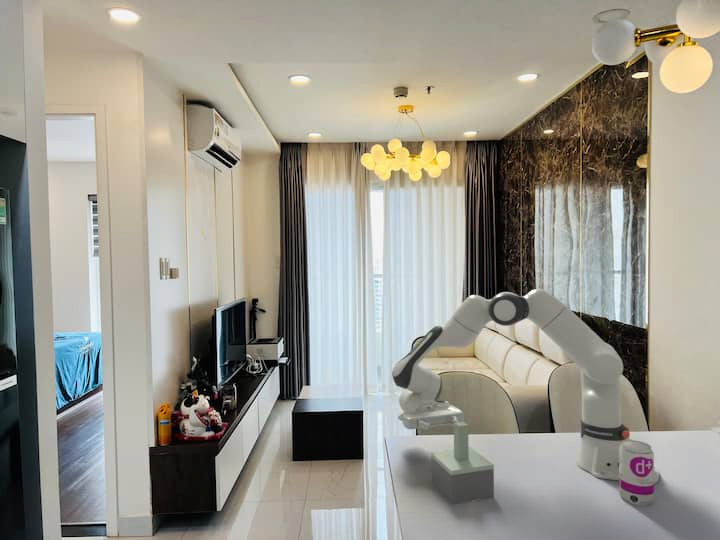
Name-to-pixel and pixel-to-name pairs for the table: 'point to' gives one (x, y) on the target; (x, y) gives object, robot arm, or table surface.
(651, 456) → the supplement can
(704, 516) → the table surface
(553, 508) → the table surface
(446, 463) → the lid
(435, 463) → the tub
